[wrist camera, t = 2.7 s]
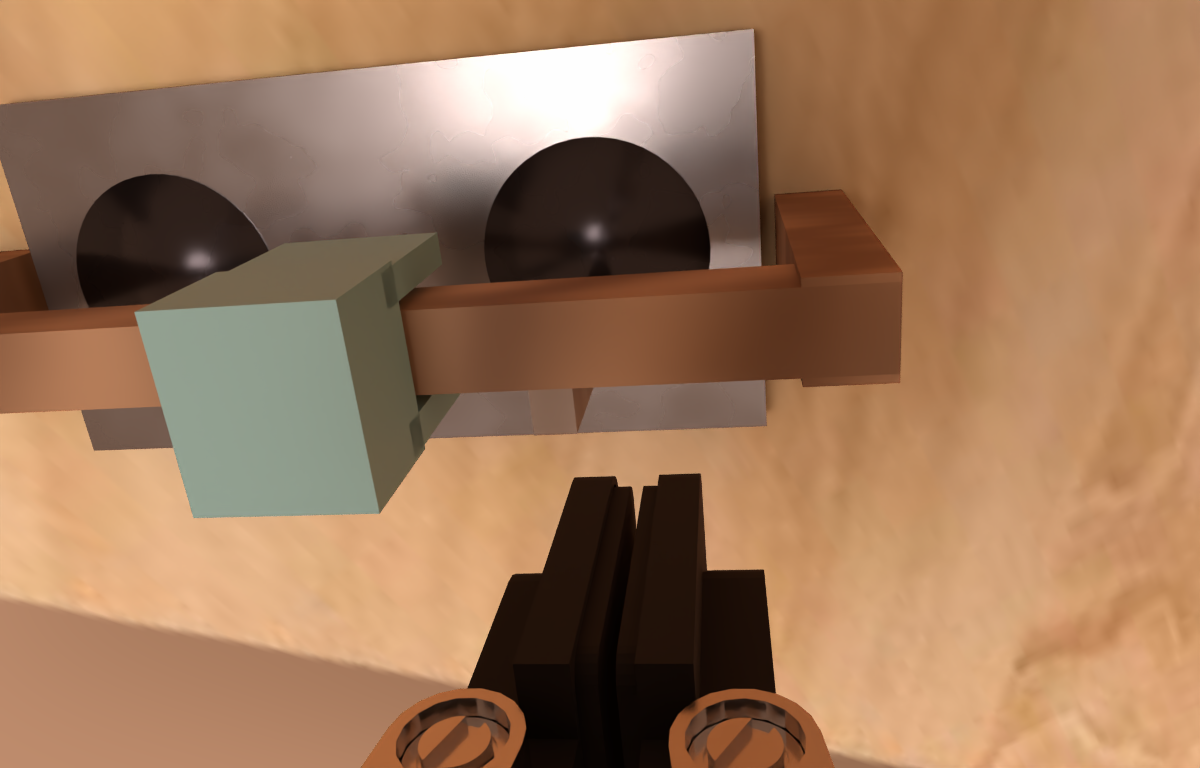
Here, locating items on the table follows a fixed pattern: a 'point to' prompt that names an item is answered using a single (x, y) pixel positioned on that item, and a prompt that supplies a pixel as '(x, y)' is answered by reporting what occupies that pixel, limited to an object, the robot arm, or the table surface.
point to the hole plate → (410, 190)
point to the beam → (545, 328)
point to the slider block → (295, 378)
